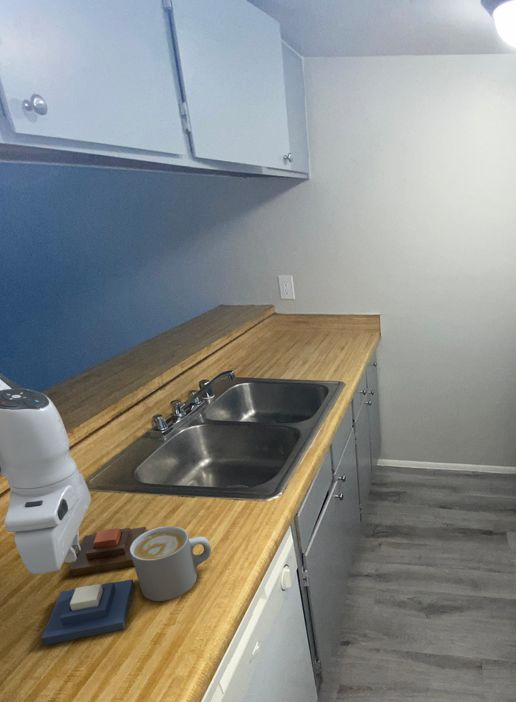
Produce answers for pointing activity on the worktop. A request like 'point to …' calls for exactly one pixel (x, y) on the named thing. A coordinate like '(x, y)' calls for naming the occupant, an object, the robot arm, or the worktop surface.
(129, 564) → the brown stepped button base
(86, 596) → the white square button cap
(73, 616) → the blue stepped button base
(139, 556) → the coffee mug
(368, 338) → the worktop surface
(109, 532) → the red square button
